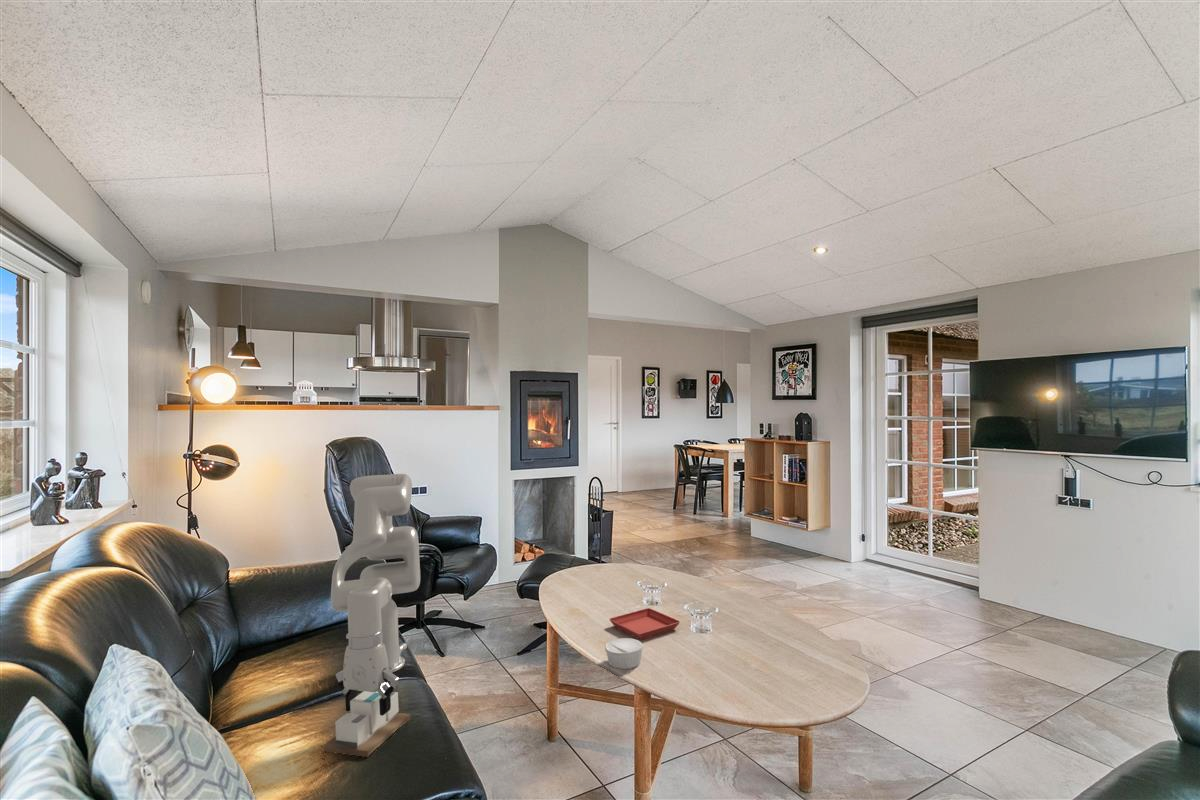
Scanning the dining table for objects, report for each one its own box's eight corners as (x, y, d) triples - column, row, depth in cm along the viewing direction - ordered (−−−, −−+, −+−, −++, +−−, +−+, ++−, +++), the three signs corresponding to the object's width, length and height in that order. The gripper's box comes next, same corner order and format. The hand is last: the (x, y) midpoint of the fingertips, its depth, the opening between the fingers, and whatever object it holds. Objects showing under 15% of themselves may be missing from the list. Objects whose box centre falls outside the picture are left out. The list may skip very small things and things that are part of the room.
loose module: (365, 719, 141) (364, 690, 141) (385, 722, 139) (384, 692, 139) (351, 730, 136) (350, 700, 136) (372, 733, 134) (371, 702, 135)
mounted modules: (378, 709, 146) (377, 689, 146) (398, 711, 144) (397, 691, 144) (336, 742, 131) (335, 720, 131) (357, 745, 130) (357, 723, 130)
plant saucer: (649, 616, 210) (648, 607, 210) (681, 630, 194) (681, 620, 194) (608, 628, 200) (608, 618, 200) (639, 644, 185) (638, 634, 185)
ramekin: (600, 668, 168) (599, 650, 168) (613, 653, 178) (612, 636, 178) (636, 673, 164) (635, 655, 164) (647, 657, 174) (647, 639, 174)
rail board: (370, 715, 147) (369, 704, 147) (410, 720, 144) (410, 709, 144) (324, 751, 132) (323, 739, 132) (367, 758, 128) (367, 745, 128)
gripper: (324, 643, 137) (327, 715, 137) (386, 648, 132) (388, 722, 132) (346, 631, 144) (349, 699, 144) (405, 635, 139) (408, 706, 139)
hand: (368, 710), depth 138 cm, fingers open, 9 cm apart
